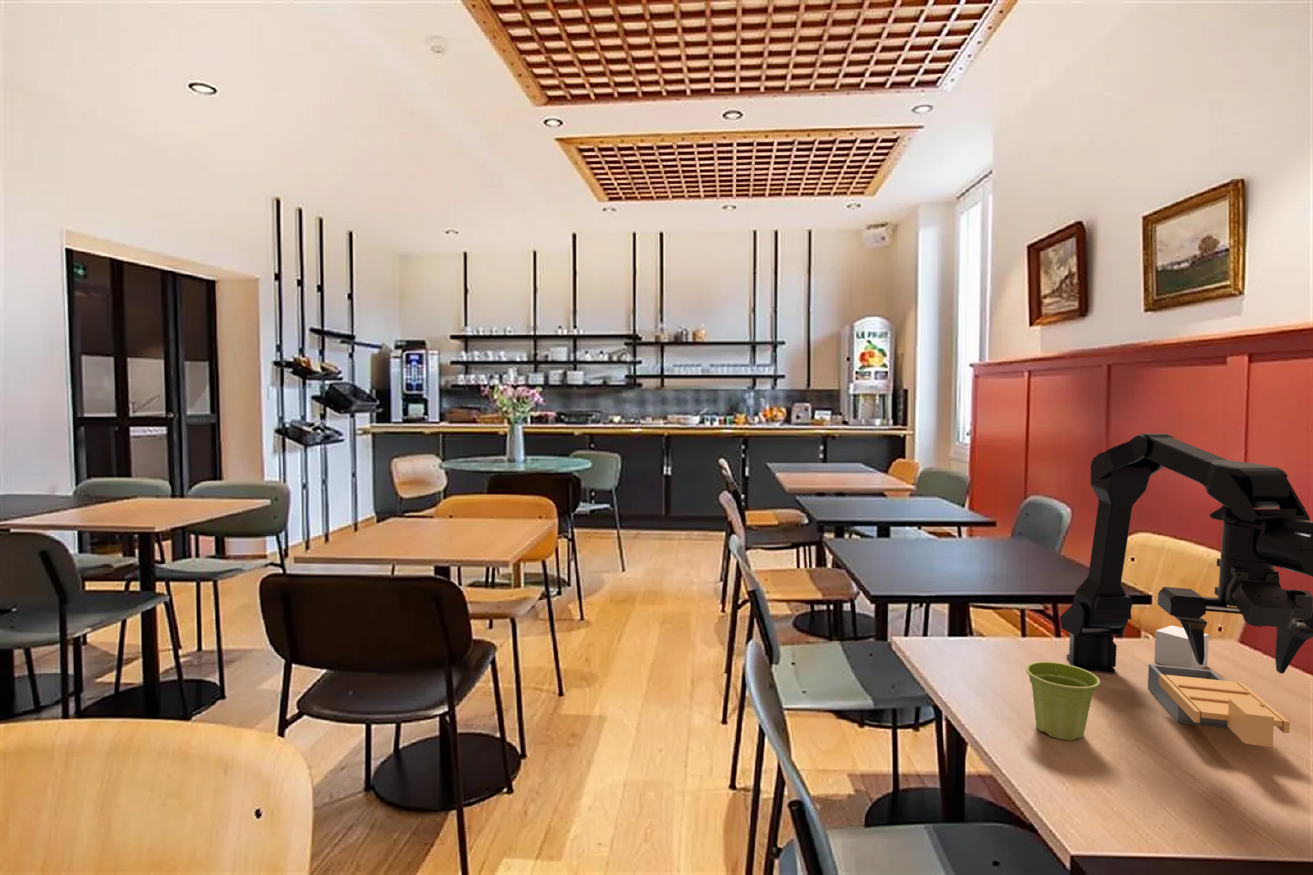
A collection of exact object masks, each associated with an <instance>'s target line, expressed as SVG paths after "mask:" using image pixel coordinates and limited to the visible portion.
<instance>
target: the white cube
mask: <svg viewBox="0 0 1313 875" xmlns="http://www.w3.org/2000/svg"><path fill="white" fill-rule="evenodd" d="M1154 636H1155V640H1154V656H1153V657H1154V659H1153V660H1154V662H1153V663H1157V664H1159V665H1163V666H1173V667H1183V668H1193V669H1205V668H1206V667H1208V658H1209V636H1210V634H1209V633H1205V632H1204V654H1205V655H1204V662H1203V665H1199V664H1198V663H1197V661H1196V658H1195V655H1194V653H1193V650H1192V648H1191V645H1190V642H1189V640H1188V637H1187V634H1186V632H1185V630H1184V628H1183V627H1180V626H1176V625H1169V626H1165V627H1162V628H1160V629H1156V630H1155V635H1154Z"/></svg>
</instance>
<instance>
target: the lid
mask: <svg viewBox="0 0 1313 875" xmlns="http://www.w3.org/2000/svg"><path fill="white" fill-rule="evenodd" d="M1159 685H1160V686H1161V687H1162V688H1163V689H1164V690H1165V691H1166V692H1167V693H1168V694H1169V695H1170V696H1171V698H1172V699H1173V700H1174V701H1175V702H1176V703H1177V704H1178V705H1179V706H1180V707H1181V708H1182V709H1183V710H1184V712H1185V713H1186V714H1187V715H1188V716H1189V717H1190V718H1191V719H1192V720H1193V721H1194V722H1197V723H1200V716H1201V717H1202V718H1210V719H1219V720H1227V721H1228V728H1229V729H1228V730H1231V731H1232V733H1234V735H1235V736H1236V737H1238V738H1239V739H1240V741H1241V742H1242V743H1244V744H1246V745H1254V746H1260V747H1261V746H1262V747H1271V748H1272V747H1273V746H1274V745H1273V744H1274V727H1275V728H1277V729H1279V730H1280V731H1281V732H1282V733H1283V734H1290V724H1291V723H1290V721H1289V720H1288V719H1287V718H1285V717H1284V716H1283V715H1282V714H1281V713H1280V712H1278V711H1277V710H1276V709H1274V708H1273V707H1272V706H1270V704H1268V703H1267V702H1266V701H1265V700H1263V698H1261V697H1260V696H1258V694H1256V693H1255V692H1253V691H1252V690H1251V689H1250V688H1249V687H1248V686H1246V685H1245V684H1244V683H1243V682H1240V681H1237V682H1236V681H1231V680H1224V681H1222V680H1213V679H1203V678H1193V677H1184V676H1174V675H1164V674H1159Z"/></svg>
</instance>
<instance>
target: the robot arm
mask: <svg viewBox="0 0 1313 875" xmlns="http://www.w3.org/2000/svg"><path fill="white" fill-rule="evenodd" d="M1164 468H1166V469H1168V470H1170V471H1173V472H1174V473H1177V474H1179V475H1182V477H1186V478H1188V479H1190V480H1192V481H1194V482H1197V483H1199V484H1201V485H1202V486H1203V487H1204V488H1205V490H1206V493H1207V495H1208V496H1209V497H1211V498H1212V499H1214V500H1215V501H1217V502H1219V503H1220V504H1221V507H1219V508H1218V509H1216V510H1214V511H1213V512H1211V513H1209V517H1210V518H1211V519H1213V520H1217V521H1222V531H1221V533H1222V534H1221V544H1220V545H1221V547H1220V548H1221V549H1220V558H1216V566H1217V567H1218V568H1219V577H1218V586H1215V587H1214V595H1216V596H1217V597H1209V596H1202V595H1200V594H1199V593H1198V592H1196V591H1195V590H1193V589H1192V588H1182V587H1170V586H1163V587H1162V588H1161V589H1160V590H1159V592H1158V593H1157V605H1158V606H1159V607H1160V608H1161V609H1163V611H1164V612H1166V613H1167V614H1168V615H1170V616H1172V617H1174V618H1176V620H1178V622H1180V624H1181V626H1182V628H1184V630H1185V632H1186V634H1187V637H1188V640H1189V642H1190V645H1191V648H1192V650H1193V653H1194V655H1195V658H1196V661H1197V663H1198V664H1199V665H1203V662H1204V655H1205V654H1204V633H1205V629H1206V627H1207V625H1208V622H1207V621H1206V620H1205V619H1204V618H1203V616H1205V615H1206V613H1207V612H1214V613H1225V614H1238V615H1242V617H1243V620H1244V621H1245V623H1247V624H1248V625H1249V626H1253V627H1259V628H1260V627H1261V628H1262V627H1272V628H1273V627H1274V628H1276V639H1275V641H1276V642H1275V670H1276V672H1277V673H1278V674H1281V675H1282V674H1285V672H1286V671H1287V669H1288V668H1289V665H1290V664H1291V662H1292V660H1293V659H1294V657H1295V656H1296V655H1297V653H1298V651H1299V650H1300V649H1301V647H1302V646H1303V645H1304V643H1305V642H1307V641H1308V640H1310V639H1312V638H1313V595H1312V593H1311V592H1310V591H1309V590H1305V589H1304V590H1303V589H1286V588H1285V589H1282V587H1281V586H1282V585H1281V584H1280V574H1279V573H1280V571H1279V570H1276V569H1275V567H1277V568H1280V569H1284V570H1288V571H1289V572H1290V571H1291V572H1295V573H1297V574H1302V575H1305V576H1308V577H1312V578H1313V520H1311V517H1310V516H1309V514H1308V512H1307V510H1306V507H1305V506H1304V505H1303V504H1302V502H1301V499H1300V498H1299V497H1298V495H1297V493H1296V491H1295V490H1294V488H1293V486H1292V484H1291V482H1290V481H1289V479H1288V474H1287V473H1286V472H1285V471H1284V470H1283V469H1281V468H1279V467H1278V466H1277V467H1276V466H1271V465H1265V464H1260V463H1253V462H1245V461H1238V460H1237V461H1236V460H1229V459H1227V458H1224V457H1223V456H1220V455H1216V454H1214V453H1211V452H1209V451H1206V450H1204V449H1203V448H1199V447H1197V446H1194V445H1191V444H1189V443H1186V442H1184V441H1181V440H1179V439H1176V438H1174V436H1172V435H1169V434H1168V433H1140V434H1138V435H1135V436H1133V437H1132V438H1131V439H1130V440H1128V441H1126V442H1124V443H1121V444H1119V445H1116V446H1113V447H1111V448H1108V449H1106V450H1104V451H1103V452H1099V453H1098V454H1097V455H1096V456H1094V457H1093V459H1092V460H1091V463H1090V486H1091V488H1092V490H1093V492H1094V493H1095V495H1096V497H1097V499H1098V502H1097V503H1098V504H1097V511H1096V519H1095V526H1094V531H1093V539H1092V540H1093V541H1092V546H1091V553H1090V562H1089V567H1088V575H1087V577H1086V578H1085V579H1084V580H1083V582H1082V583H1081V584H1080V586H1079V587H1078V588H1076V590H1075V593H1074V595H1073V596H1074V597H1073V601H1072V604H1071V605H1070V607H1068V608H1067V609H1066V610H1065V611H1064V612H1063V613H1062V614H1061V615H1060V617H1059V620H1060V627H1061V629H1062V630H1064V631H1065V632H1068V633H1069V647H1068V648H1069V649H1068V654H1067V653H1066V659H1067V660H1068V661H1069V663H1070V665H1071V666H1075V667H1079V668H1082V669H1084V670H1086V671H1089V672H1100V673H1101V672H1102V673H1109V674H1115V673H1116V669H1115V667H1116V666H1117V648H1118V647H1117V644H1116V643H1115V642H1114V636H1123V634H1124V631H1125V628H1126V626H1127V624H1128V622H1129V620H1132V607H1133V603H1134V600H1133V597H1131V596H1129V595H1127V593H1126V591H1125V588H1124V587H1123V586H1122V585H1123V584H1122V579H1123V571H1124V567H1125V561H1126V560H1125V559H1126V553H1127V552H1126V551H1127V546H1128V539H1129V532H1130V525H1131V520H1132V512H1133V507H1134V505H1135V503H1137V501H1138V500H1139V499H1140V498H1141V497H1142V496H1143V495H1144V493H1145V492H1146V490H1147V488H1148V484H1149V482H1150V478H1151V476H1153V475H1154V474H1156V473H1157V472H1158V471H1160V470H1162V469H1164Z"/></svg>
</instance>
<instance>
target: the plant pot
mask: <svg viewBox="0 0 1313 875" xmlns="http://www.w3.org/2000/svg"><path fill="white" fill-rule="evenodd" d="M1025 668H1026V669H1025V671H1026V673H1027V675H1028V676H1029V682H1030V683H1031V688H1032V698H1033V708H1034V717H1035V719H1034V720H1035V726H1036V728H1037V730H1039V731H1040V732H1044V733H1045V734H1047V735H1048V736H1050V737H1052V738H1055V739H1059V740H1064V741H1075V740H1076V739H1079V738H1080V739H1082V738H1083V737H1084V735H1085V731H1086V726H1087V721H1088V716H1089V711H1090V707H1091V703H1092V700H1093V696H1094V695H1095V692H1096V689H1097V688H1098V687H1099V686H1100V683H1101V680H1100V678H1099V677H1098V676H1097V675H1095V673H1093V672H1092V671H1089V670H1084V669H1082V668H1079V667H1075V666H1072V665H1071V664H1067V663H1062V662H1055V661H1054V662H1053V661H1035V662H1032V663H1029V664H1028V665H1027V666H1026V667H1025Z"/></svg>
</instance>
